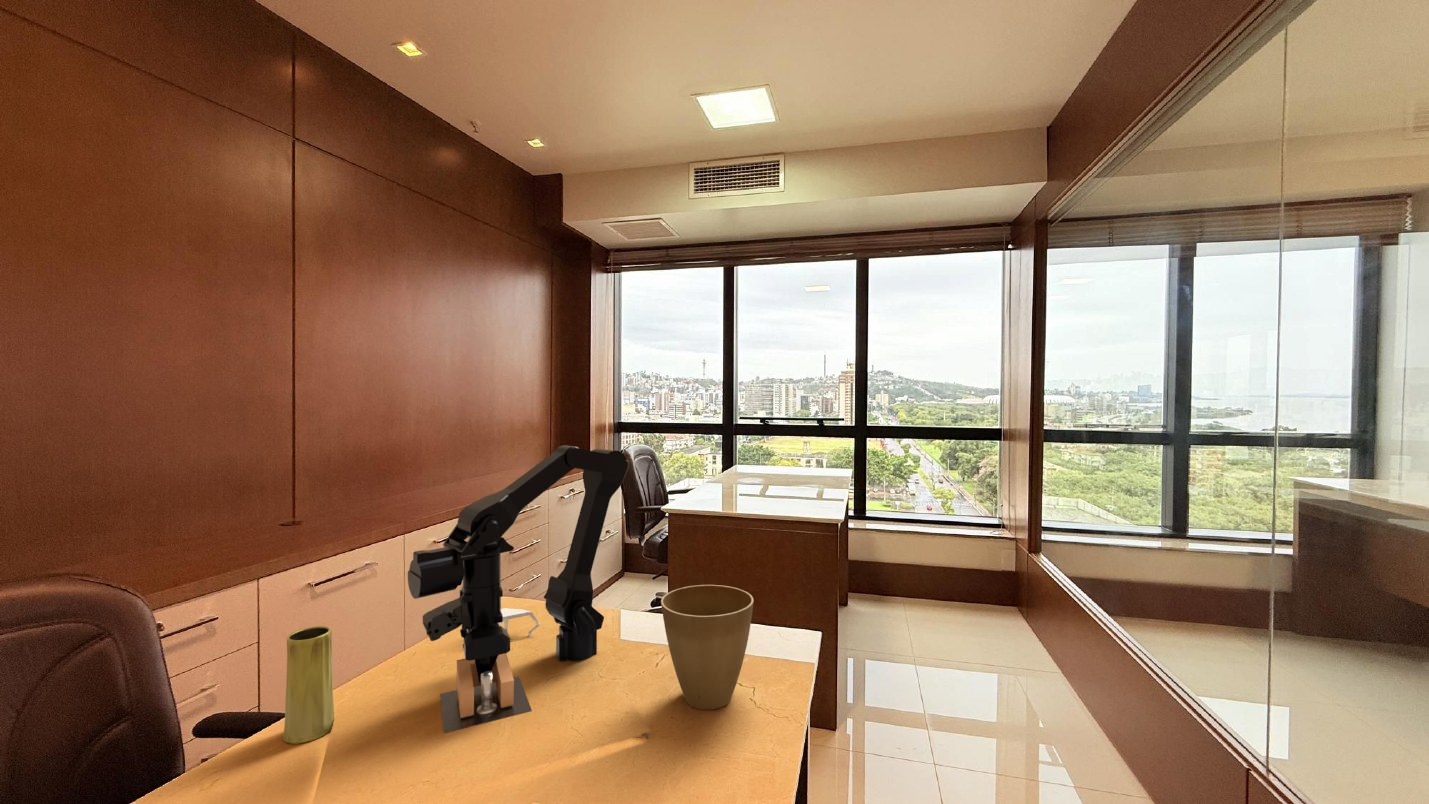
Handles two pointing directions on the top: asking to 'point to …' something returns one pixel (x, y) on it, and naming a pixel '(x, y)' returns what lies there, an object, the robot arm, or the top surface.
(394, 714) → the top surface
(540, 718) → the top surface
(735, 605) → the plant pot
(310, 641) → the vase
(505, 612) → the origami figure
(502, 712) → the peg stand
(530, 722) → the top surface
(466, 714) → the c link
